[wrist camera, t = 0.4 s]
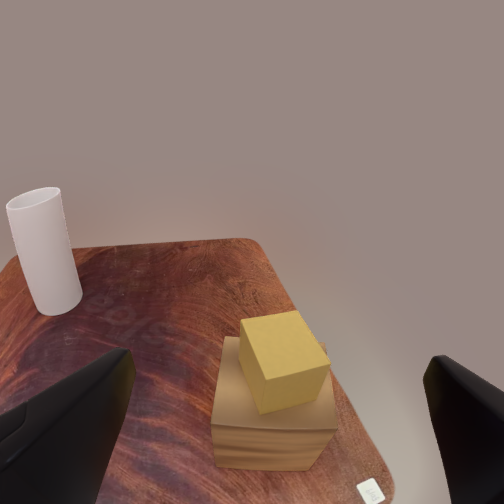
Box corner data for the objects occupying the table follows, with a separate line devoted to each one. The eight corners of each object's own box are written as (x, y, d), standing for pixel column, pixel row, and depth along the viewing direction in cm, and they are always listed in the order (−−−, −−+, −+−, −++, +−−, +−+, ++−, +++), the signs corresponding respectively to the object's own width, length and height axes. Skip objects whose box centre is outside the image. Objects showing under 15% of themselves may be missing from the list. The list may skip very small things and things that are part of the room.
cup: (49, 281, 40) (26, 189, 32) (89, 284, 41) (70, 185, 33) (28, 313, 33) (-6, 211, 25) (71, 318, 34) (40, 207, 26)
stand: (308, 470, 20) (338, 428, 15) (215, 466, 20) (210, 423, 16) (304, 401, 27) (325, 342, 22) (225, 396, 27) (224, 335, 23)
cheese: (316, 399, 18) (331, 363, 16) (259, 415, 16) (265, 379, 14) (289, 349, 22) (297, 310, 20) (238, 359, 21) (240, 319, 19)
